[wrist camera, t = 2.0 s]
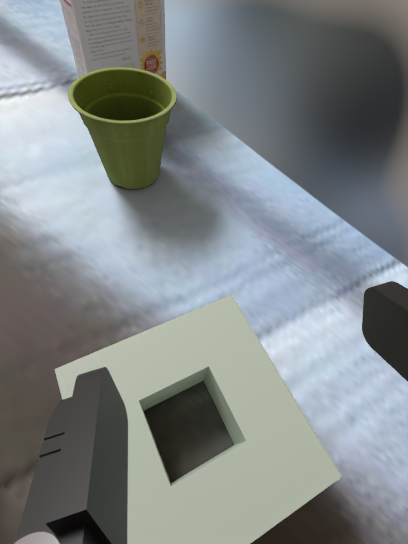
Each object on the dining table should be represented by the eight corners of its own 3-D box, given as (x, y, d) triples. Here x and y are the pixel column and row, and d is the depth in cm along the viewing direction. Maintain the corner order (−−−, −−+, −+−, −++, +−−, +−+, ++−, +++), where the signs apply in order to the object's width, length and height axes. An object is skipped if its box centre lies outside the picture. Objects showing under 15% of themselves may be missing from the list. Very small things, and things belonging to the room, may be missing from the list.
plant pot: (192, 174, 45) (198, 96, 35) (129, 216, 39) (116, 137, 30) (137, 136, 48) (128, 56, 39) (72, 170, 43) (45, 87, 34)
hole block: (132, 602, 21) (123, 636, 17) (72, 383, 28) (54, 369, 24) (314, 475, 26) (341, 476, 22) (223, 316, 33) (231, 294, 29)
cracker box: (150, 74, 59) (142, -93, 41) (167, 89, 56) (165, -81, 39) (80, 91, 54) (35, -92, 36) (95, 109, 51) (55, -78, 34)
